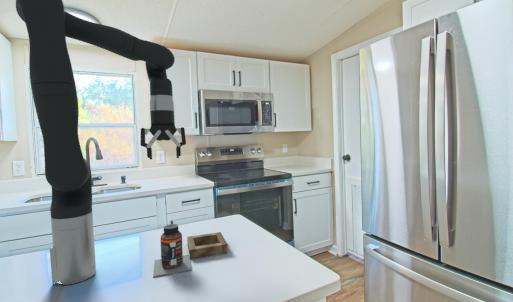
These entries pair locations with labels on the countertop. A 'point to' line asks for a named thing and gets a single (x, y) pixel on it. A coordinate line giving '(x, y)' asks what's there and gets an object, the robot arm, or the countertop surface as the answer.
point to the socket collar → (206, 249)
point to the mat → (167, 271)
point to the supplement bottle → (171, 247)
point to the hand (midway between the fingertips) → (164, 158)
